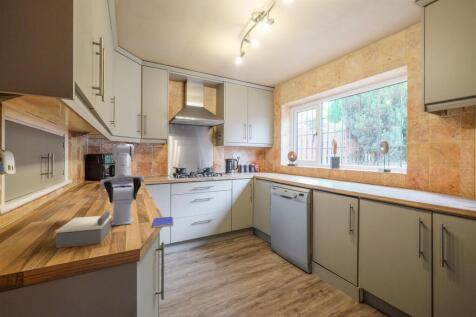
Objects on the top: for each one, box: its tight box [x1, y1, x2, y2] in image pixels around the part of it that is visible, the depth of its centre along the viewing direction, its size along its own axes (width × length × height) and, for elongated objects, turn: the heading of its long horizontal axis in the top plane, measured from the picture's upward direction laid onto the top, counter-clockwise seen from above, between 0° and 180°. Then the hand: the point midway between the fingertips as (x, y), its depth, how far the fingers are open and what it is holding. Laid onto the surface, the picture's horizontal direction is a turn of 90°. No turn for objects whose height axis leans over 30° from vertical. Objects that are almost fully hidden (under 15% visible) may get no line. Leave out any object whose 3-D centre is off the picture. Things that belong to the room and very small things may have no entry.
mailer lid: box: [54, 211, 113, 234], centre depth 76 cm, size 16×12×3 cm
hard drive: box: [152, 216, 174, 229], centre depth 95 cm, size 2×8×12 cm
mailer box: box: [55, 217, 112, 249], centre depth 76 cm, size 16×12×4 cm
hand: (122, 199), depth 77 cm, fingers open, 7 cm apart
